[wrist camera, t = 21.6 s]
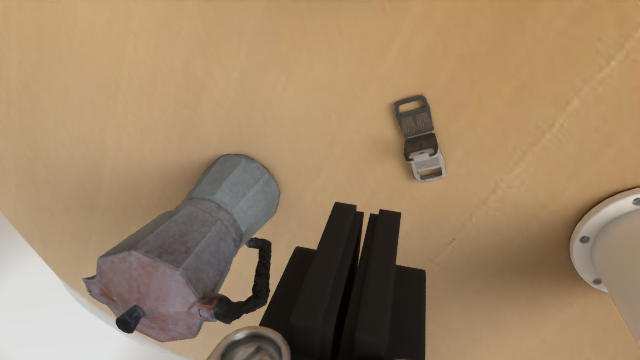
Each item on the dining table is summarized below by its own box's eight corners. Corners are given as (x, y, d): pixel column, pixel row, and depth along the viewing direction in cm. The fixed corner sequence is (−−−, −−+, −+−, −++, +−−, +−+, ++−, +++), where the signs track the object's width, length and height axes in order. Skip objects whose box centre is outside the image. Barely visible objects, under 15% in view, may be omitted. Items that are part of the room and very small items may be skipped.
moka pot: (172, 149, 44) (20, 272, 27) (306, 146, 41) (227, 285, 24) (195, 220, 49) (76, 364, 32) (317, 223, 45) (258, 387, 28)
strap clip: (447, 173, 39) (451, 196, 35) (416, 180, 40) (417, 203, 36) (425, 92, 36) (427, 108, 32) (392, 102, 37) (390, 118, 33)
